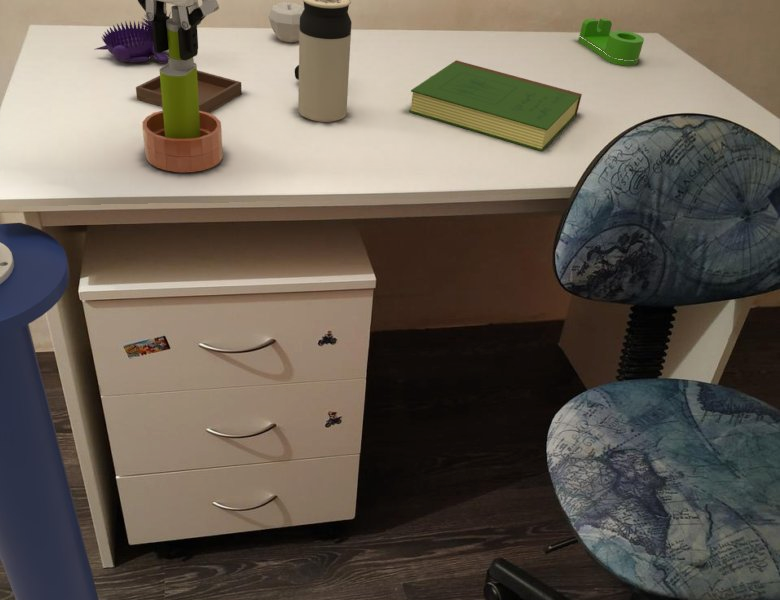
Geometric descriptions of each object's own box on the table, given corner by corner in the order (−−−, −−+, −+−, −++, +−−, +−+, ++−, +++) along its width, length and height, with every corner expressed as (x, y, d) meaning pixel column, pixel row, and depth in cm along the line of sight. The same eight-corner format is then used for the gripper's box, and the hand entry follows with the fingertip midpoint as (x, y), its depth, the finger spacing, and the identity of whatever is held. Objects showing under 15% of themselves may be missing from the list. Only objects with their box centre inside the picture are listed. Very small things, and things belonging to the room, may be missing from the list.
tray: (200, 117, 127) (199, 105, 126) (136, 99, 130) (135, 87, 129) (241, 93, 136) (241, 82, 135) (181, 77, 139) (180, 65, 138)
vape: (204, 149, 119) (197, 5, 105) (188, 166, 114) (178, 18, 101) (181, 144, 119) (170, 0, 106) (163, 161, 114) (150, 13, 101)
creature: (201, 65, 144) (196, -7, 136) (95, 67, 139) (84, -8, 131) (195, 48, 150) (190, -22, 142) (93, 49, 145) (82, -24, 137)
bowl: (194, 181, 112) (192, 147, 108) (130, 161, 114) (126, 127, 111) (236, 153, 119) (235, 120, 116) (175, 135, 122) (172, 102, 119)
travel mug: (311, 126, 129) (314, 7, 117) (290, 107, 134) (291, -9, 122) (354, 119, 132) (362, 3, 120) (332, 101, 137) (337, -13, 125)
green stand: (644, 64, 167) (650, 41, 164) (615, 66, 164) (622, 43, 161) (604, 40, 177) (609, 18, 174) (576, 41, 174) (582, 19, 171)
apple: (311, 47, 156) (312, 11, 152) (271, 46, 155) (271, 10, 150) (305, 33, 162) (306, -2, 158) (266, 32, 160) (266, -3, 156)
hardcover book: (576, 115, 143) (581, 94, 140) (542, 151, 130) (547, 129, 127) (449, 79, 150) (452, 59, 148) (404, 110, 137) (407, 88, 135)
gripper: (85, -113, 94) (107, 48, 106) (204, -88, 90) (213, 76, 102) (126, -121, 100) (142, 33, 112) (240, -97, 96) (244, 60, 108)
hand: (176, 52), depth 107 cm, fingers closed on vape, 3 cm apart
